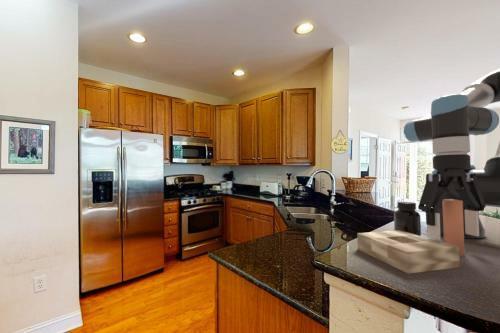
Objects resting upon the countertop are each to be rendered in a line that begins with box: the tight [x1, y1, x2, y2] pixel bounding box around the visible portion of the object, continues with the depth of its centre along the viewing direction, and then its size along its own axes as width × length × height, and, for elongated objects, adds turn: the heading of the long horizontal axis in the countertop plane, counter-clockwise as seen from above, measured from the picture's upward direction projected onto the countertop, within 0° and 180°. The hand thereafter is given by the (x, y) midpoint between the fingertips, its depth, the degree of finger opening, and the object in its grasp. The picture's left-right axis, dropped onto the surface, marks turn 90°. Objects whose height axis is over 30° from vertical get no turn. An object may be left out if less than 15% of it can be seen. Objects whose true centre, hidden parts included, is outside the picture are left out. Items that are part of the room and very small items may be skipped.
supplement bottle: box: [393, 201, 422, 236], centre depth 72 cm, size 7×7×12 cm
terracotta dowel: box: [442, 199, 466, 257], centre depth 60 cm, size 4×4×14 cm
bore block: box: [356, 230, 461, 275], centre depth 58 cm, size 14×16×4 cm
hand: (453, 236), depth 60 cm, fingers open, 12 cm apart
